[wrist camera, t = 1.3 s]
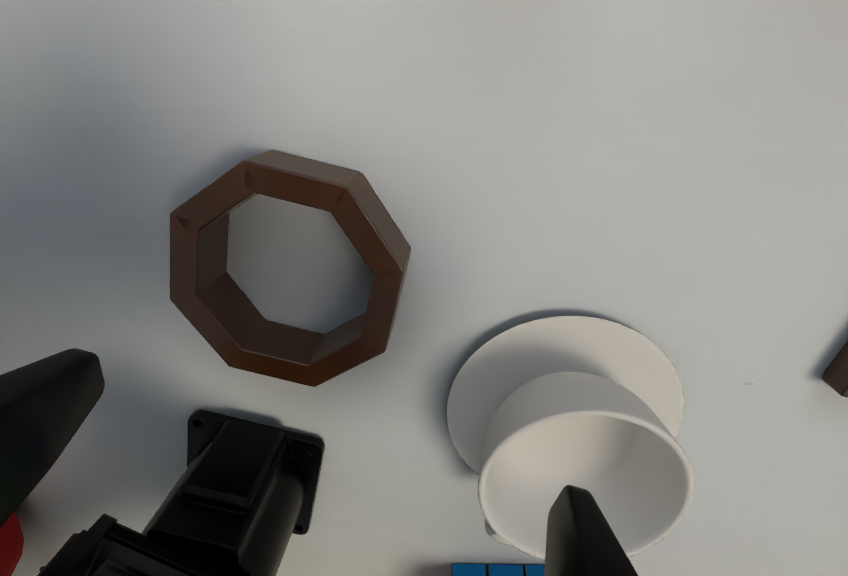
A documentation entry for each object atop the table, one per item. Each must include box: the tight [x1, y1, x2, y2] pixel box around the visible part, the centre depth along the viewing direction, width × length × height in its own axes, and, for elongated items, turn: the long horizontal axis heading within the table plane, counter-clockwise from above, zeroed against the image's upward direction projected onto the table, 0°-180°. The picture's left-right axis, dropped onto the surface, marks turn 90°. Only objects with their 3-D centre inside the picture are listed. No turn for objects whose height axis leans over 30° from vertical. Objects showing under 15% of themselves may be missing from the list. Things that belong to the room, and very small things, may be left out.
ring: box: [170, 150, 411, 387], centre depth 18 cm, size 8×8×2 cm
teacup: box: [447, 316, 694, 560], centre depth 19 cm, size 10×10×5 cm
